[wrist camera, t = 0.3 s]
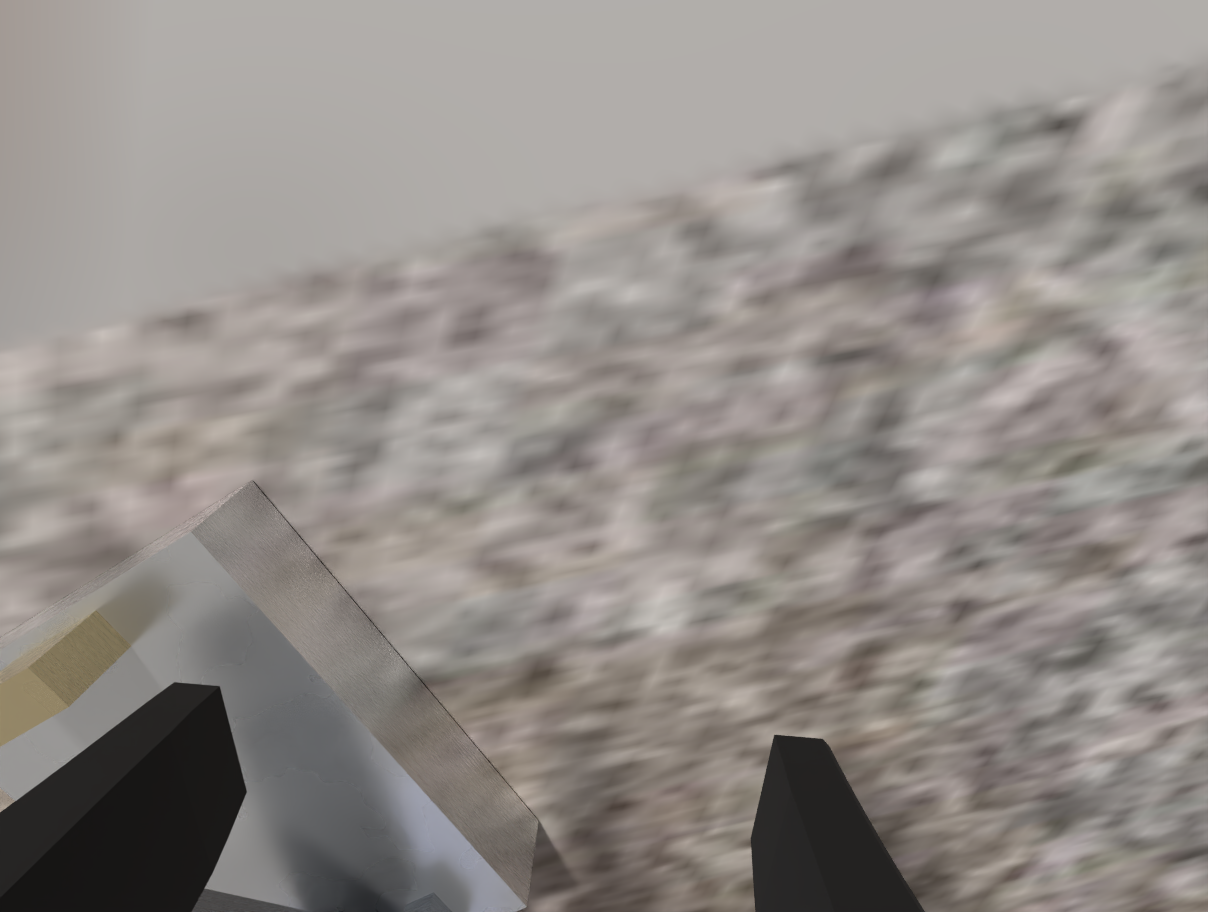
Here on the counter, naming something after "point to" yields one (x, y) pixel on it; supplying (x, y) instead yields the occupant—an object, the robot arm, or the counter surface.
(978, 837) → the counter surface
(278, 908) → the grey slab
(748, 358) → the counter surface
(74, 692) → the base block
